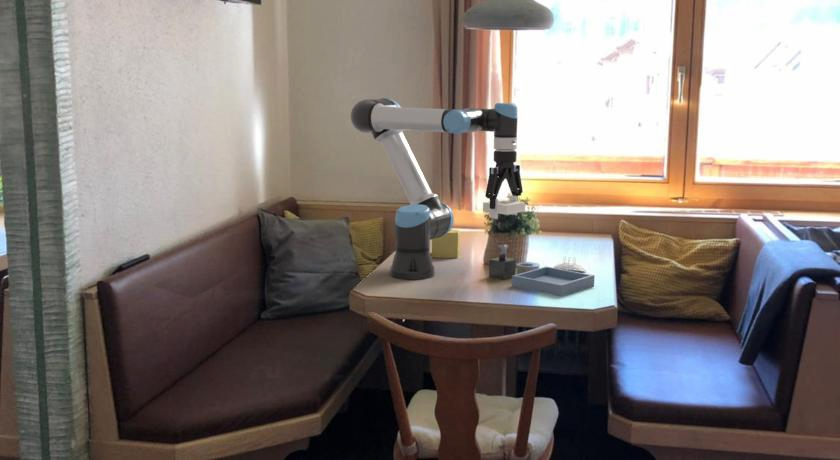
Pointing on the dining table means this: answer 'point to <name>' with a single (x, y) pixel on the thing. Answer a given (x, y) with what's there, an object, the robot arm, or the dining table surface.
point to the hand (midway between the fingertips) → (503, 216)
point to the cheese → (446, 245)
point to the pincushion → (569, 265)
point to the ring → (506, 207)
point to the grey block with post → (502, 265)
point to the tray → (553, 281)
